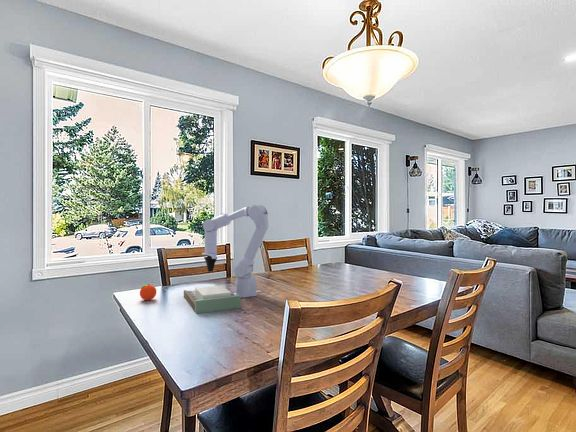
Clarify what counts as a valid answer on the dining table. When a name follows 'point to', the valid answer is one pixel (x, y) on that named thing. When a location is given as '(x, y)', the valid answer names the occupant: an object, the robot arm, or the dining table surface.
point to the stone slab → (211, 292)
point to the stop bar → (217, 303)
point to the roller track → (191, 298)
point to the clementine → (147, 292)
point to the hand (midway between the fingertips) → (210, 271)
